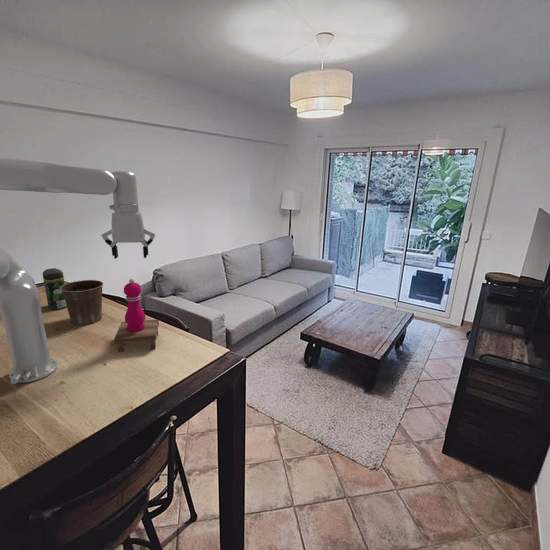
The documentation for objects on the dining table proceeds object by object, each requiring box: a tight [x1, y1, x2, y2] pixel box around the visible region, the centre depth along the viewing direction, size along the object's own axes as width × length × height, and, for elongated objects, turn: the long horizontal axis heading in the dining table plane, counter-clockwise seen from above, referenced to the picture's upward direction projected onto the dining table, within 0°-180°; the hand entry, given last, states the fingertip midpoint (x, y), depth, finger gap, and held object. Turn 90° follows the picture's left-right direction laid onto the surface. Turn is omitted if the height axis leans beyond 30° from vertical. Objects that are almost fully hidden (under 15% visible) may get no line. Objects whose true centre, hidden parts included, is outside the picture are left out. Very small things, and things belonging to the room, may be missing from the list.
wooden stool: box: [113, 319, 160, 353], centre depth 124 cm, size 14×14×6 cm
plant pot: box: [60, 279, 104, 326], centre depth 140 cm, size 16×16×16 cm
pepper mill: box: [123, 278, 146, 332], centre depth 120 cm, size 7×7×20 cm
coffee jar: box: [42, 267, 67, 310], centre depth 152 cm, size 10×8×19 cm
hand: (130, 257), depth 115 cm, fingers open, 9 cm apart
